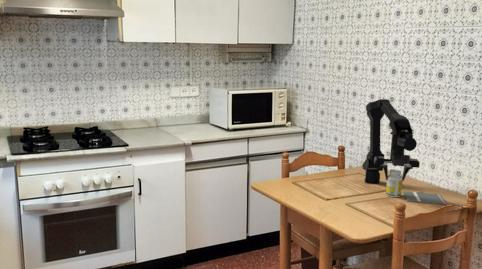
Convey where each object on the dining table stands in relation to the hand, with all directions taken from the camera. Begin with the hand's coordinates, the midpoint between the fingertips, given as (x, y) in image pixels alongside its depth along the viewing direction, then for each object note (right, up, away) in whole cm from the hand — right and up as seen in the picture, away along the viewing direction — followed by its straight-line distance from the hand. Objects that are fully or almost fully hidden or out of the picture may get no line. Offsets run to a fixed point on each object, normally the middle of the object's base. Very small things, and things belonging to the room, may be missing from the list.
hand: (394, 180), depth 208 cm
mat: (+12, -8, -1) cm, 15 cm away
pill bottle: (0, -7, +1) cm, 7 cm away
